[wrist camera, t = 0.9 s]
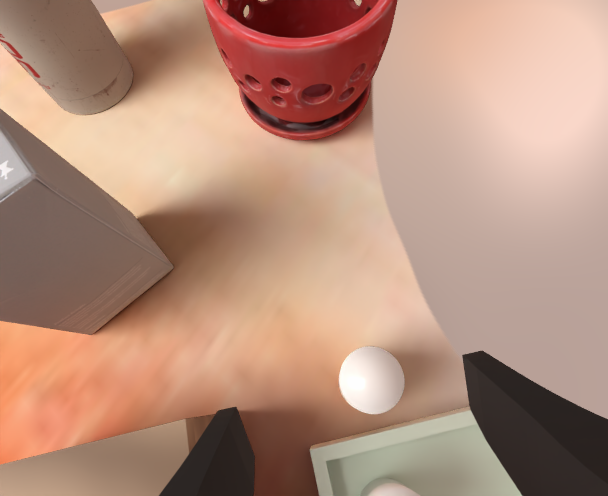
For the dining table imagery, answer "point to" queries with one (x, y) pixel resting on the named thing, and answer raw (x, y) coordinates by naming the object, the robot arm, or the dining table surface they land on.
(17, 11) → the thermos bottle
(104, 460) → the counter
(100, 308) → the skincare box
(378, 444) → the tray
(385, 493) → the pale pink rounded cylinder
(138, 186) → the dining table surface
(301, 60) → the plant pot
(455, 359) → the dining table surface
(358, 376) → the white rounded piece
